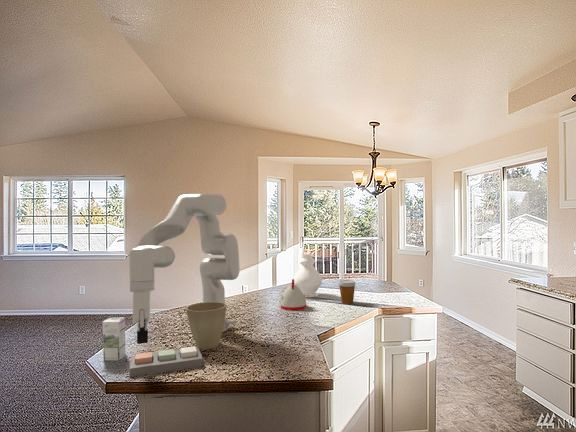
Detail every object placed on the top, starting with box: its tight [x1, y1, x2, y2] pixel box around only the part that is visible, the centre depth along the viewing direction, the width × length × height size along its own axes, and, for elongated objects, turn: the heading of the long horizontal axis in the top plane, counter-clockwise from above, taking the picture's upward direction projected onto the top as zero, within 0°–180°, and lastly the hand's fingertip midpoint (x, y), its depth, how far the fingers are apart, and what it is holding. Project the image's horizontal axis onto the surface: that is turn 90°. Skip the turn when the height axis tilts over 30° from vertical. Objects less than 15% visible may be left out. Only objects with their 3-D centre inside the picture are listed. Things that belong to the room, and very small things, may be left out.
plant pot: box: [185, 301, 227, 350], centre depth 145 cm, size 15×15×16 cm
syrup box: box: [102, 317, 127, 361], centre depth 135 cm, size 6×6×14 cm
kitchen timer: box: [280, 278, 307, 311], centre depth 208 cm, size 14×14×15 cm
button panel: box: [129, 346, 204, 378], centre depth 127 cm, size 22×12×4 cm, turn 109°
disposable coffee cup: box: [338, 279, 356, 305], centre depth 215 cm, size 10×10×12 cm
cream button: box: [179, 346, 197, 358], centre depth 129 cm, size 5×5×2 cm
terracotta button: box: [135, 351, 153, 364], centre depth 125 cm, size 5×5×2 cm
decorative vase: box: [293, 253, 323, 298], centre depth 238 cm, size 18×18×25 cm
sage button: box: [158, 348, 175, 361], centre depth 127 cm, size 5×5×2 cm
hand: (142, 342), depth 124 cm, fingers closed
